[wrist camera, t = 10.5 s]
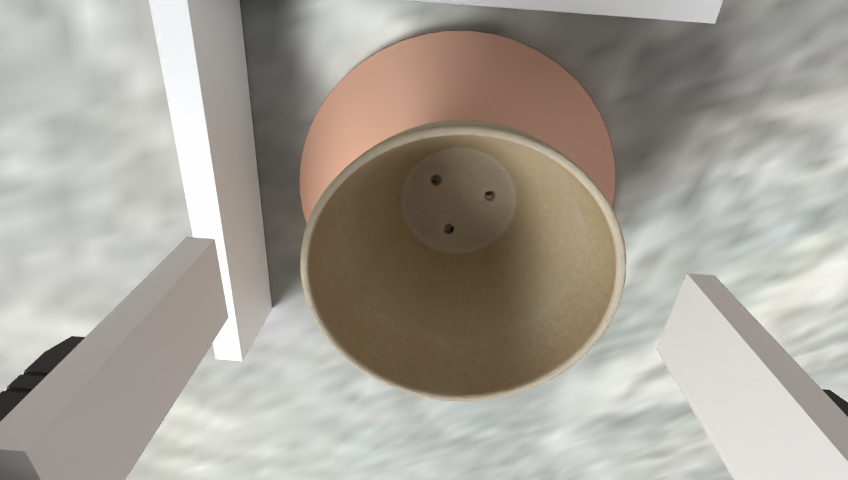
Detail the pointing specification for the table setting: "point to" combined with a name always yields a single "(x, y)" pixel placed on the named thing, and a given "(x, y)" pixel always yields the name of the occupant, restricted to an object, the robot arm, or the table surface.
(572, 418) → the table surface
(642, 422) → the table surface
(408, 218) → the flower pot
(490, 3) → the acrylic walls
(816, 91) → the table surface
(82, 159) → the table surface
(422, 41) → the coaster
